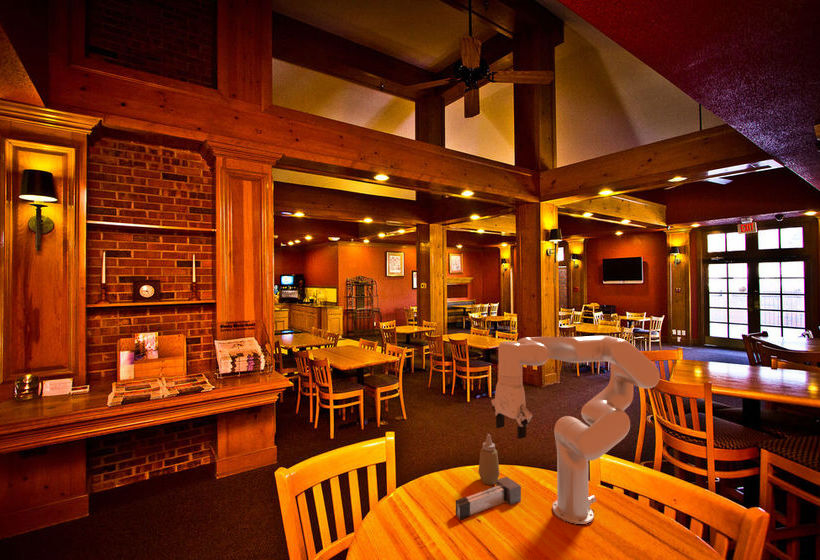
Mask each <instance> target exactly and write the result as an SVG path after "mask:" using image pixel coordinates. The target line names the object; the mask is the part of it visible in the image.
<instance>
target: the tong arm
mask: <svg viewBox="0 0 820 560" xmlns="http://www.w3.org/2000/svg"><path fill="white" fill-rule="evenodd" d="M503 503H505V501H504V489H502V488H500V489H497V490H494V491H491V492H489V493H486V494H483V495H480V496H478V497H475V498H472V499H469V500H466V501H463V502H461V503H458V517H457V519H458V520H460V521H461V520H464V519H467V518H470V517H471V516H473V515H475V514H478V513H480V512H482V511H485V510H488V509H491V508H492V507H496V506H498V505H500V504H503Z"/></svg>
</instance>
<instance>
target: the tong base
mask: <svg viewBox="0 0 820 560" xmlns="http://www.w3.org/2000/svg"><path fill="white" fill-rule="evenodd" d="M495 485H496V486H493V487H491V488H488V489H486V490H483V491H479V492H477V493H474V494H472V495H468V496H464V497H461V498H459V499H456V500H455V516H456V517H457V518H458V503H461V502H463V501H466V500H469V499H472V498H475V497H478V496H480V495H483V494H486V493H489V492H491V491H494V490H497V489H500V488H502V489H504V503H506V504H507V505H509V506H513V505H515V504H517V503H518V504H519V503H520V502H521V501H522V500H521V499H522V496H521V495H522V494H521V493H522V486H521V484H519V483H517V482H516V481H514V480H513V479H511V478H509V477H508V476H505V477H501V478H498V480H496V484H495Z"/></svg>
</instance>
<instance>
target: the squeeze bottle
mask: <svg viewBox="0 0 820 560" xmlns="http://www.w3.org/2000/svg"><path fill="white" fill-rule="evenodd" d="M479 452H480V453H479V454H480V455H479V461H478V462H479V464H478V475H479V477H480V481H481V482H482V483H483V484H484V485H488V486H493V485H496V480H498V479H499V476H500V465H499V456H498V455H499V454H498V451H497V449H496V444H495V443H494V442H493V441H492V437H491V434H486V440H485V441H484V442H483V443H482V448H481V449H480V451H479Z"/></svg>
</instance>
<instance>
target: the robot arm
mask: <svg viewBox="0 0 820 560" xmlns="http://www.w3.org/2000/svg"><path fill="white" fill-rule="evenodd" d="M549 359H553V360H558V361H561V362H566V363H571V364H572V363H574V364H576V363H577V364H578V363H580V364H581V363H592V362H593V363H594V362H595V363H596V362H606V363H607V362H608V363H610V378H609V383H608V384H607V386H606V387H604V389H602V390H601V391H600V392H599V393H597V394H596V395H595V396H594V397H592V398H591V399H590V400H588V401H587V402H586V403H585V404H584V405H583V406H582V408H581V412H580V413H581V417H582V419H583V420H584V422H585V423H584V422H583V421H582V420H580V419H578V418H576V417H574V416H570V415H565V416H562V417H560V418H559V419H558V420H557V421H556V423H555V424H554V432H553V433H554V438H555V439H554V440H555V446H556V456H557V457H556V458H557V460H556V462H557V463H556V466H557V467H556V469H557V471H556V472H557V474H556V476H557V479H556V481H557V485H556V486H557V488H556V489H557V493H556V494H557V499H556V500H555V501H554V502H553V503H552V511H553V513H554V515H555V516H556V517H557V518H559V519H560V518H561V519H560V520H562V519H563V520H562V521H564V522H566V521H567V522H566V523H568V522H570V523H569V524H571V523H575V524H574V525H576V524H585V523H589V522H591V521H592V520H593V518H594V519H595V514H594V511H593V510H592V508H591V505H592V504H593V503H595V502H597V498H596V496H595V495H589V461H595V460H597V459H599V458H602V457H603V456H604V455H605V454H606V453H608V451H610V450H612V448H614V447H615V446H616V445H618V444H619V443H620V442H621V441H622V440H624V439H625V438H626V436H627V435H628V433H629V431H630V428H631V420H630V418H629V417H630V416H629V415H628V414H627V413H626V409H627V408H628V407H630V405H631V404H632V402H633V399H634V386H636V387H639V388H641V389H652V388H655V387H656V386H657V385H658V384H659V383H660V380H661V373H660V369H658V367H657V366H656V364H655V363H654V362H652V361H651V359H650V358H648V357H647V356H646V355H645V354H643V352H642V351H640V350H639V349H638V348H637V347H636V346H634V345H633V344H632V343H631V342H629V341H628V340H626V339H624V338H619V337H614V336H610V335H589V336H588V335H587V336H585V335H584V336H533V337H532V336H531V337H522V338H520V339H518V340H517V341H513V340H511V341H510V340H509V341H502V342H500V343H499V344H498V373H497V376H498V381H497V383H496V385H495V391H494V398H493V399H491V400H490V401H491V405H492V409H493V411H494V415H495V427H496V428H497V429H499V428H503V427H505V417H507V418H510V419H512V420H516V422H517V424H518V425H517V439H519V440H522V439H525V438H526V437H527V426H528V425H529V424H530V423H531V420H532V418H533V414H532V412H531V411H530V410H528V408H526V405H527V403H526V392H525V388H524V385H523V366H524V365H525V366H534V367H539V366H542V365H545V364H546V363H547V362H548V361H549ZM589 425H590V426H589ZM590 515H591V516H590ZM593 521H594V520H593ZM593 521H592V522H593ZM592 522H591V523H592ZM589 524H590V523H589Z"/></svg>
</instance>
